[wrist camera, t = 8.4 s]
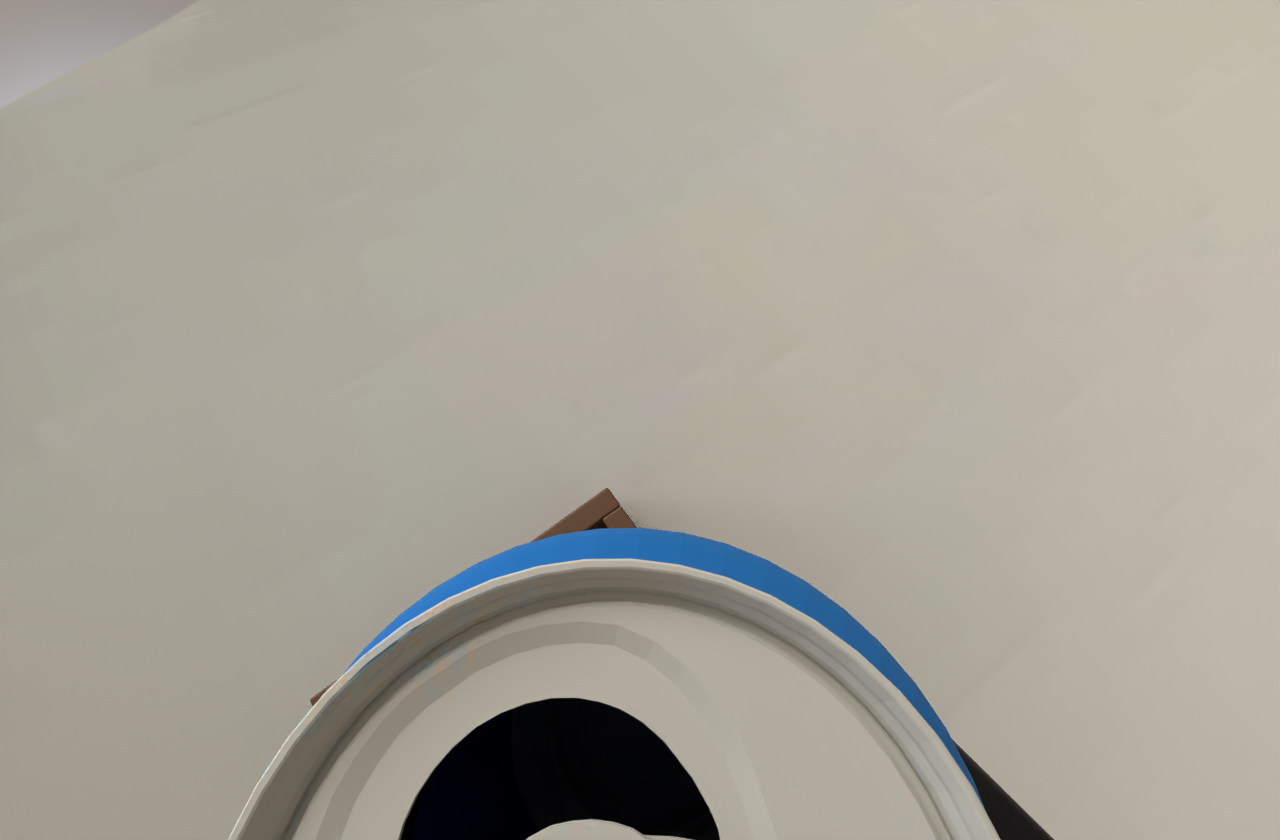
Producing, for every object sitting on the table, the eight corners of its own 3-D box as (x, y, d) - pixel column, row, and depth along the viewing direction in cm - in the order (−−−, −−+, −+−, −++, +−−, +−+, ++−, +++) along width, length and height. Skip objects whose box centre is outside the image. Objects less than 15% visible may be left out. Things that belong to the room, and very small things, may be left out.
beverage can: (678, 539, 17) (714, 356, 5) (833, 762, 15) (1399, 1216, 3) (471, 685, 16) (-34, 845, 4) (610, 942, 14) (376, 2409, 2)
